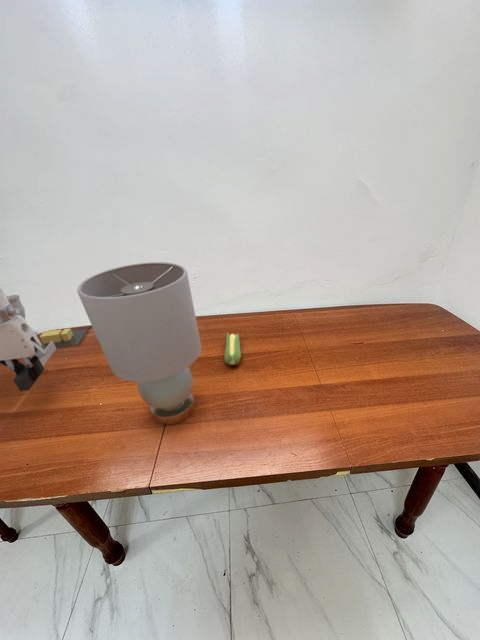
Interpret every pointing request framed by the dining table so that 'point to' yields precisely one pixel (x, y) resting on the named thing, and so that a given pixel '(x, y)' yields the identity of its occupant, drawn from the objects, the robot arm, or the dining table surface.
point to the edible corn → (232, 349)
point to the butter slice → (67, 334)
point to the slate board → (73, 341)
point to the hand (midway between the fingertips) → (31, 377)
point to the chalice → (16, 304)
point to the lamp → (147, 332)
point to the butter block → (51, 336)
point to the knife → (24, 377)
